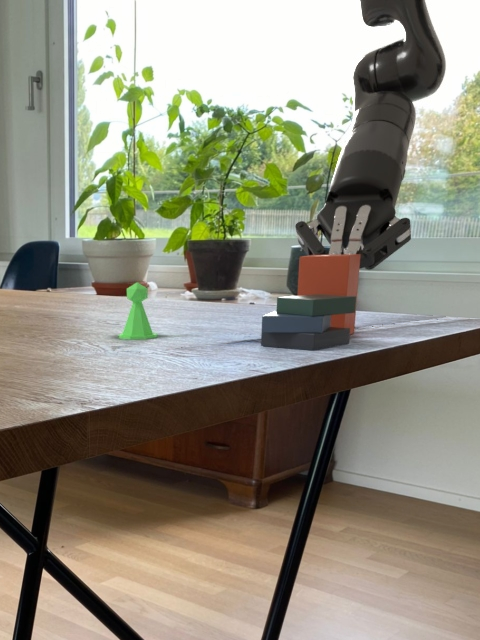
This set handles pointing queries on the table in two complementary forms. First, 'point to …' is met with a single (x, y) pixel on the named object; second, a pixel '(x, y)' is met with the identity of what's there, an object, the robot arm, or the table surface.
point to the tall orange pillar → (331, 281)
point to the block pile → (307, 322)
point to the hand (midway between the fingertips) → (334, 293)
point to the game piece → (137, 315)
